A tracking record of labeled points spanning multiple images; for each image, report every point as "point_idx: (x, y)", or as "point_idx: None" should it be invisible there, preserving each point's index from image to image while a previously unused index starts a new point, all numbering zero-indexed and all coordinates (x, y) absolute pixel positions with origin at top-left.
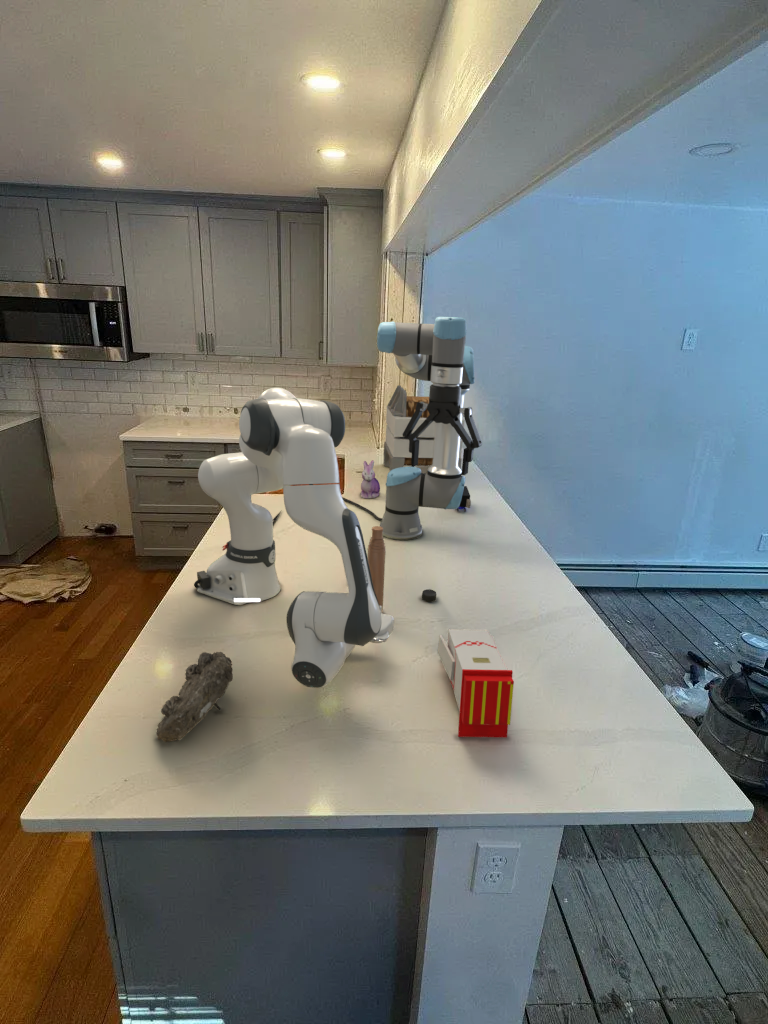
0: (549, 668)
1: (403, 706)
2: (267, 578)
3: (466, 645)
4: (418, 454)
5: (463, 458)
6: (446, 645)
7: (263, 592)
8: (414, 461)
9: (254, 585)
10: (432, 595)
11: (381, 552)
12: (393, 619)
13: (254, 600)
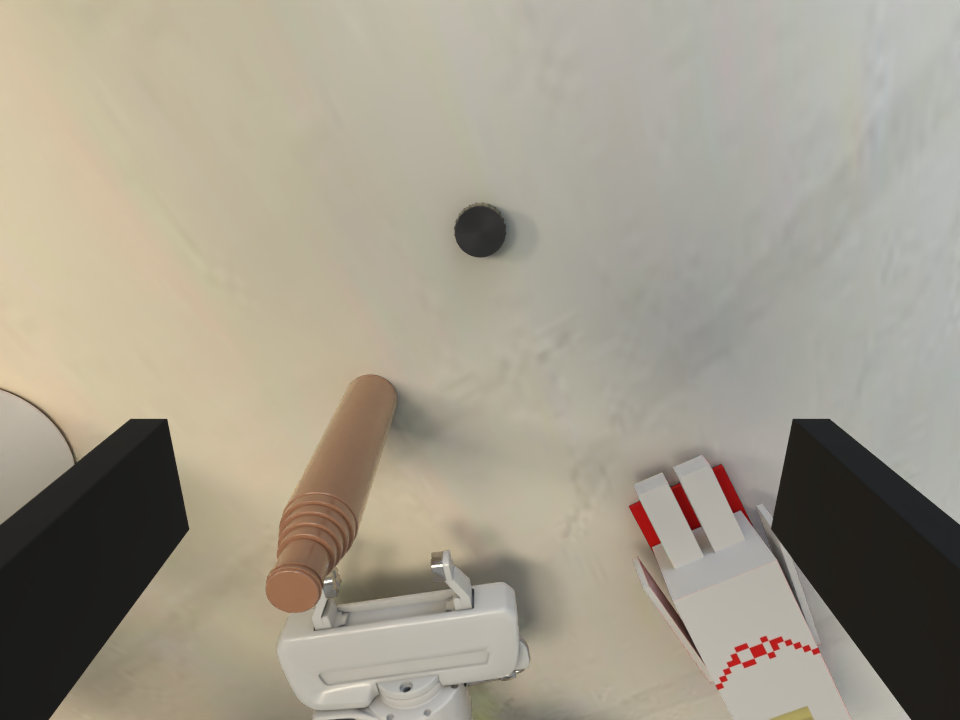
0: (889, 412)
1: (601, 657)
2: (20, 507)
3: (742, 668)
4: (85, 491)
5: (902, 693)
6: (676, 626)
7: None
8: (156, 558)
9: None
10: (498, 247)
11: (354, 539)
12: (517, 619)
13: None
